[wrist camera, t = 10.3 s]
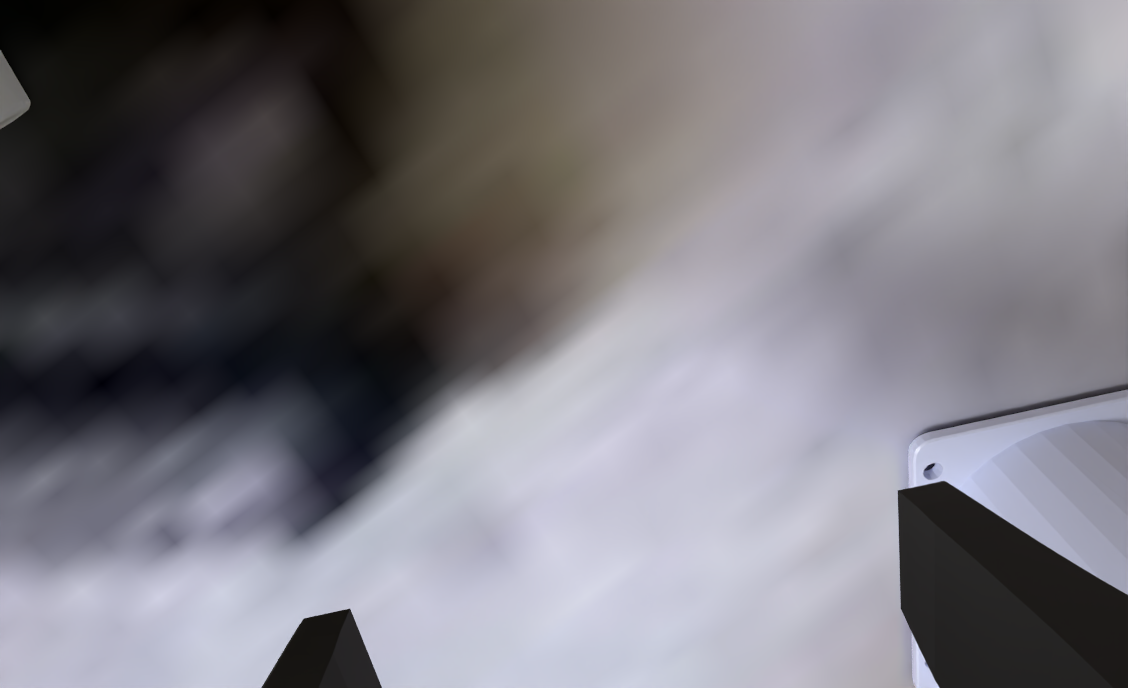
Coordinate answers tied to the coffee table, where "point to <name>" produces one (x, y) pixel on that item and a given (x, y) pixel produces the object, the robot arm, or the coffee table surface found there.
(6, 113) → the tea box
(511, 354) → the coffee table surface
